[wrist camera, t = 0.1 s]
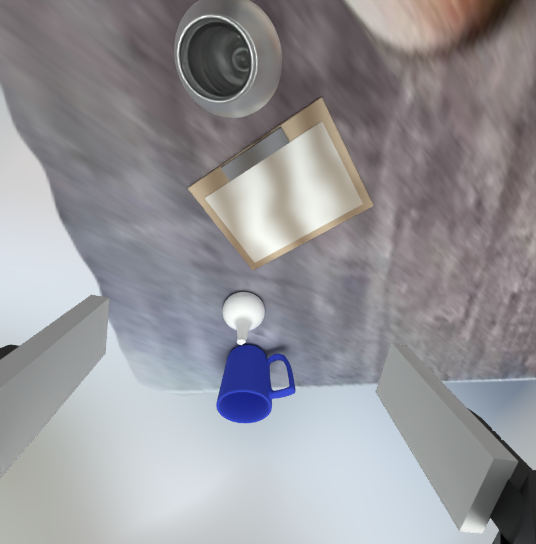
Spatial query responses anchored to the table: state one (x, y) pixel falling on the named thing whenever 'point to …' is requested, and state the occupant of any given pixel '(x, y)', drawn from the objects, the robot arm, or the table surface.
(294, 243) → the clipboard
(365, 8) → the table surface
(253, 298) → the garlic bulb
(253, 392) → the mug
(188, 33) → the plastic bottle
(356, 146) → the table surface
